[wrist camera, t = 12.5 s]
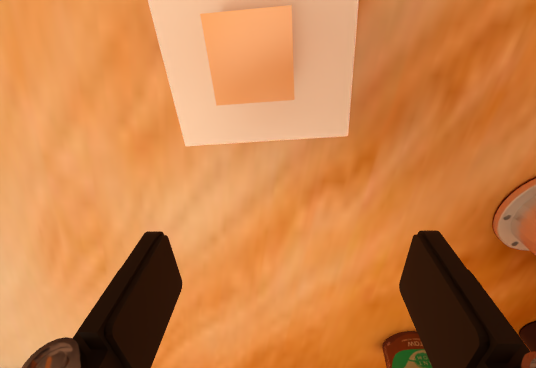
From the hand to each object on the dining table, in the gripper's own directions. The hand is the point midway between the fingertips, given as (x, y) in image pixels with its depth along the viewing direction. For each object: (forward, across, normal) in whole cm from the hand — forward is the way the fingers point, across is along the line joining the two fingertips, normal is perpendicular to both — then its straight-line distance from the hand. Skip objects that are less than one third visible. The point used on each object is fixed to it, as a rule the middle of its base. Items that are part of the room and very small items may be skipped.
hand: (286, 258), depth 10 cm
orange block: (+20, +3, -6) cm, 21 cm away
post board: (+22, +3, -6) cm, 23 cm away
